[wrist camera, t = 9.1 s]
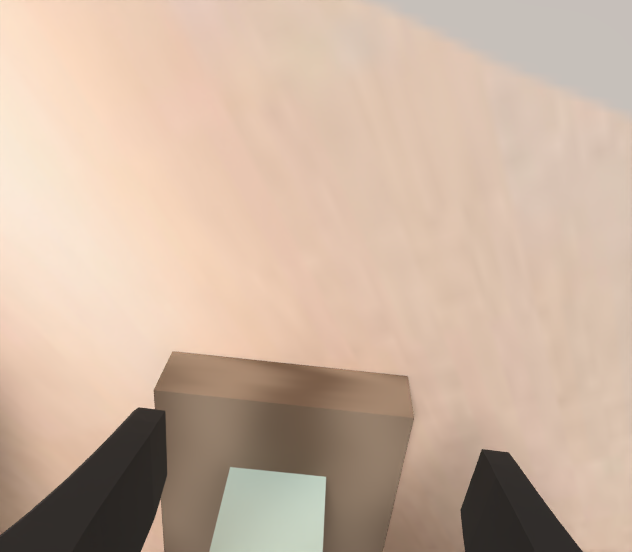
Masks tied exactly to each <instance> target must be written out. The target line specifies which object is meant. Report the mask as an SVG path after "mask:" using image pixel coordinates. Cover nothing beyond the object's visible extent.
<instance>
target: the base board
mask: <svg viewBox="0 0 632 552" xmlns="http://www.w3.org/2000/svg"><path fill="white" fill-rule="evenodd" d="M154 401H155V410H164V411H165V414H166V446H167V478H166V481H165V485H164V488H163V492H162V495H161V508H162V523H163V538H164V552H209V551H210V547H211V543H212V538H213V534H214V530H215V526H216V522H217V518H218V514H219V510H220V506H221V502H222V498H223V494H224V490H225V486H226V482H227V478H228V474H229V470H230V467H234V468H244V469H254V470H264V471H274V472H284V473H294V474H303V475H313V476H323V477H326V491H325V513H324V535H323V552H383V548H384V543H385V539H386V535H387V531H388V526H389V522H390V518H391V514H392V509H393V505H394V501H395V496H396V492H397V488H398V484H399V479H400V475H401V471H402V467H403V462H404V458H405V454H406V450H407V445H408V441H409V437H410V432H411V428H412V424H413V420H414V415H413V409H412V402H411V396H410V389H409V382H408V376H399V375H389V374H380V373H370V372H361V371H352V370H342V369H333V368H323V367H314V366H304V365H295V364H286V363H276V362H267V361H257V360H248V359H239V358H229V357H220V356H210V355H201V354H192V353H182V352H172V354H171V356H170V358H169V360H168V362H167V364H166V366H165V368H164V370H163V372H162V374H161V376H160V378H159V380H158V382H157V385H156V387H155V389H154Z"/></svg>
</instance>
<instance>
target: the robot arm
mask: <svg viewBox="0 0 632 552" xmlns="http://www.w3.org/2000/svg"><path fill="white" fill-rule="evenodd" d="M166 478H167V446H166V414H165V411H164V410H155V409H147V408H137V409H136V410H134V411H133V412H132V413H131V414H130V416H129V417H128V418H127V419H126V420H125V421H124V422H123V423H122V424H121V425H120V426H119V427H118V428H117V429H116V431H115V432H114V433H113V434H112V435H111V436H110V437H109V438H108V439H107V440H106V441H105V442H104V443H103V444H102V445H101V446H100V447H99V448H98V449H97V450H96V451H95V452H94V453H93V454H92V455H91V456H90V457H89V458H88V459H87V460H86V461H85V462H84V463H83V464H82V465H81V466H80V467H79V468H77V469H76V470H75V471H74V472H73V473H72V474H71V475H70V476H69V477H68V478H67V479H66V480H65V481H64V482H63V483H62V484H60V485H59V486H58V487H57V488H56V489H55V490H54V491H53V492H51V493H50V494H49V495H48V496H47V497H46V498H45V499H43V500H42V501H41V502H40V503H39V504H38V505H37V506H35V507H34V508H33V509H32V510H31V511H30V512H28V513H27V514H26V515H25V516H24V517H22V518H21V519H20V520H19V521H18V522H16V523H15V524H14V525H13V526H11V527H10V528H9V529H8V530H6V531H5V532H4V533H2V534H1V535H0V552H141V550H142V547H143V545H144V542H145V540H146V538H147V535H148V533H149V530H150V528H151V526H152V523H153V521H154V518H155V515H156V512H157V508H158V505H159V502H160V498H161V495H162V492H163V488H164V485H165V481H166ZM461 519H462V529H463V538H464V546H465V552H583V551H582V550H581V549H580V548H579V546H578V545H577V544H576V543H575V541H574V540H573V539H572V537H571V536H570V535H569V534H568V532H567V531H566V530H565V528H564V527H563V526H562V525H561V523H560V522H559V521H558V519H557V518H556V517H555V515H554V514H553V513H552V511H551V510H550V509H549V507H548V506H547V505H546V503H545V502H544V500H543V499H542V498H541V496H540V495H539V494H538V492H537V491H536V489H535V488H534V487H533V485H532V484H531V482H530V481H529V480H528V478H527V477H526V475H525V474H524V473H523V471H522V470H521V469H520V467H519V466H518V464H517V463H516V462H515V460H514V459H513V458H512V456H511V455H510V454H509V453H508V452H500V451H492V450H484V449H482V451H481V453H480V456H479V459H478V462H477V465H476V468H475V471H474V473H473V476H472V479H471V482H470V485H469V488H468V490H467V493H466V496H465V499H464V502H463V505H462V508H461Z"/></svg>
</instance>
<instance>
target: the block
mask: <svg viewBox="0 0 632 552" xmlns="http://www.w3.org/2000/svg"><path fill="white" fill-rule="evenodd" d="M325 491H326V477H323V476H313V475H303V474H294V473H284V472H274V471H264V470H254V469H244V468H234V467H230V470H229V474H228V478H227V482H226V486H225V490H224V494H223V498H222V502H221V506H220V510H219V514H218V518H217V522H216V526H215V530H214V534H213V538H212V543H211V547H210V551H209V552H323V535H324V513H325Z"/></svg>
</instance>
